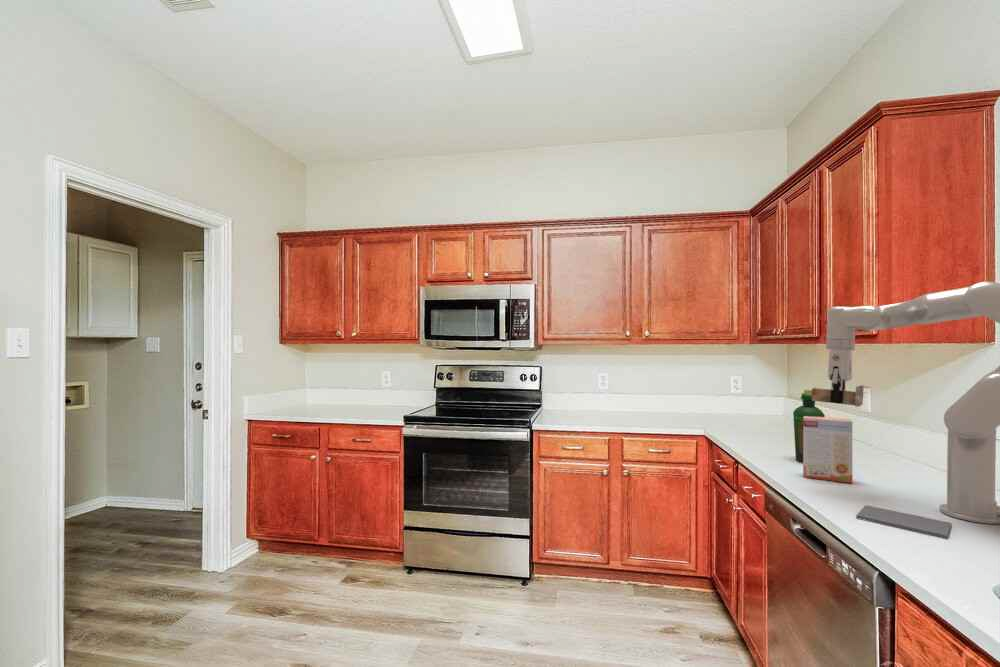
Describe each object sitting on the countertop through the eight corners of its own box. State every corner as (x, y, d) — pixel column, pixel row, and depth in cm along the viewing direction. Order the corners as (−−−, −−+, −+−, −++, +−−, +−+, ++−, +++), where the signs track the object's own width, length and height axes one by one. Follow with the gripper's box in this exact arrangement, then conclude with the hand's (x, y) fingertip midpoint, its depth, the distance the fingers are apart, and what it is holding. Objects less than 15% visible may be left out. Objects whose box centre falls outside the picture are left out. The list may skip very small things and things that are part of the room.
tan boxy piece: (809, 401, 158) (810, 382, 158) (815, 399, 164) (816, 381, 164) (858, 406, 149) (859, 387, 149) (862, 404, 155) (863, 385, 155)
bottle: (809, 466, 184) (810, 392, 184) (785, 459, 194) (786, 389, 195) (831, 464, 187) (832, 391, 187) (806, 457, 197) (807, 388, 198)
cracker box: (851, 480, 166) (851, 418, 167) (852, 484, 161) (853, 421, 161) (802, 473, 174) (803, 414, 174) (802, 477, 169) (803, 417, 169)
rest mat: (951, 526, 126) (951, 522, 126) (947, 538, 117) (947, 535, 118) (865, 507, 139) (865, 505, 139) (856, 518, 130) (856, 515, 130)
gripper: (849, 346, 148) (846, 406, 148) (859, 345, 159) (856, 401, 159) (820, 344, 153) (818, 403, 153) (831, 344, 164) (829, 398, 165)
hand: (837, 401), depth 156 cm, fingers closed on tan boxy piece, 3 cm apart
